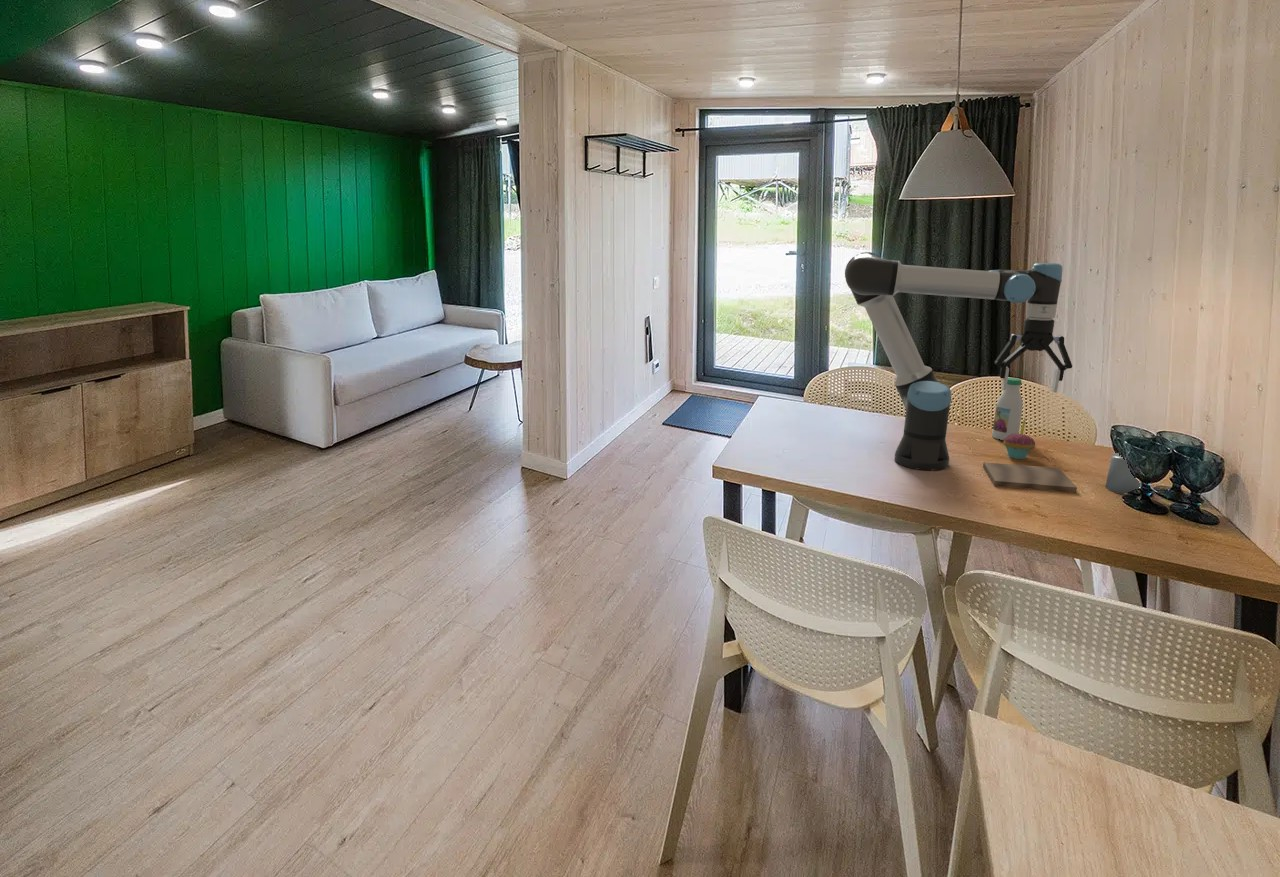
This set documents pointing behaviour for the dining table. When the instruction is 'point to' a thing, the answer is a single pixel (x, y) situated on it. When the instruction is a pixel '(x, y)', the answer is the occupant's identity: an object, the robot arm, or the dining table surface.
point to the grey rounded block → (1120, 476)
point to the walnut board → (1029, 477)
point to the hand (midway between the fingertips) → (1028, 390)
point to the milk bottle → (1008, 410)
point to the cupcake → (1019, 444)
